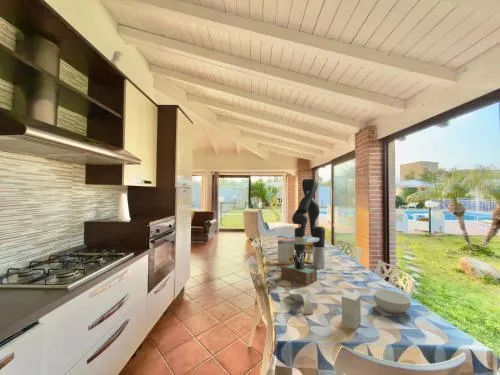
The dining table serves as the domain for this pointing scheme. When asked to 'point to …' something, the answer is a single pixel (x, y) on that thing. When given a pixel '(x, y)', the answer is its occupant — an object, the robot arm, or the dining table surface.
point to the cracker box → (285, 251)
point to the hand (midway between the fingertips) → (299, 267)
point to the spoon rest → (302, 299)
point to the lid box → (298, 275)
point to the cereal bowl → (392, 301)
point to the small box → (351, 310)
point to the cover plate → (301, 268)
